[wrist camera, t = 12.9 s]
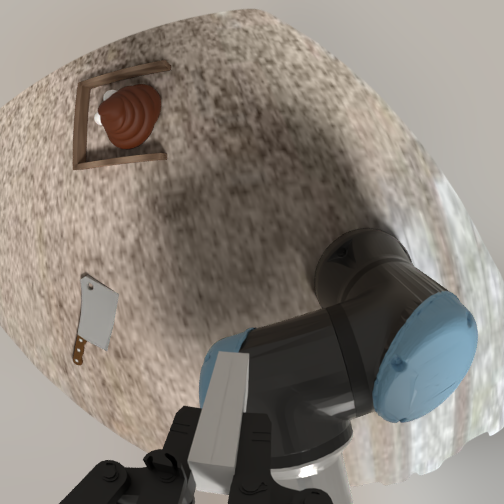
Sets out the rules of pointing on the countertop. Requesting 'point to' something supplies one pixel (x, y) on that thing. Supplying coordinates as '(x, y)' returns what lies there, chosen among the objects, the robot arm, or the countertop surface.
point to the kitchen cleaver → (95, 316)
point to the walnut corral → (82, 115)
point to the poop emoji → (129, 114)
